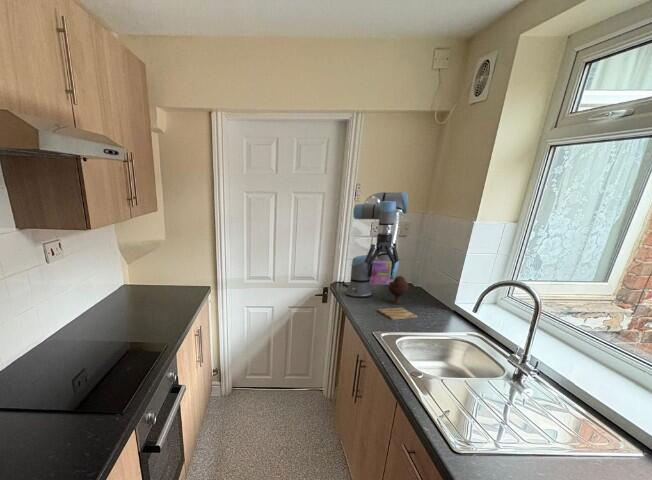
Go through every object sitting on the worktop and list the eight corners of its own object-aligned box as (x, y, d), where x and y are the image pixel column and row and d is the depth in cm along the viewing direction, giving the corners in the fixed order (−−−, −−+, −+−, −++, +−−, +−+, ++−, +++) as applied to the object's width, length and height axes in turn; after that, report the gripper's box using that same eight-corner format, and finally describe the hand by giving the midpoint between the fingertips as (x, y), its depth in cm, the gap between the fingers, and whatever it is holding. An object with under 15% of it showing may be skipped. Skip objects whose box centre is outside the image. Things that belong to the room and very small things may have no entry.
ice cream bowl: (382, 301, 241) (385, 275, 234) (397, 299, 245) (401, 274, 239) (395, 306, 232) (399, 279, 226) (410, 303, 237) (414, 277, 230)
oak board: (377, 311, 224) (378, 309, 224) (401, 309, 227) (401, 307, 226) (392, 319, 210) (392, 317, 210) (417, 317, 213) (417, 316, 212)
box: (369, 284, 225) (371, 262, 220) (369, 282, 230) (371, 260, 225) (389, 285, 223) (392, 262, 217) (388, 283, 227) (391, 261, 222)
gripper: (367, 235, 209) (363, 278, 218) (409, 233, 214) (403, 275, 224) (360, 233, 215) (356, 275, 225) (401, 231, 220) (396, 273, 230)
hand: (379, 275), depth 224 cm, fingers closed on box, 12 cm apart
